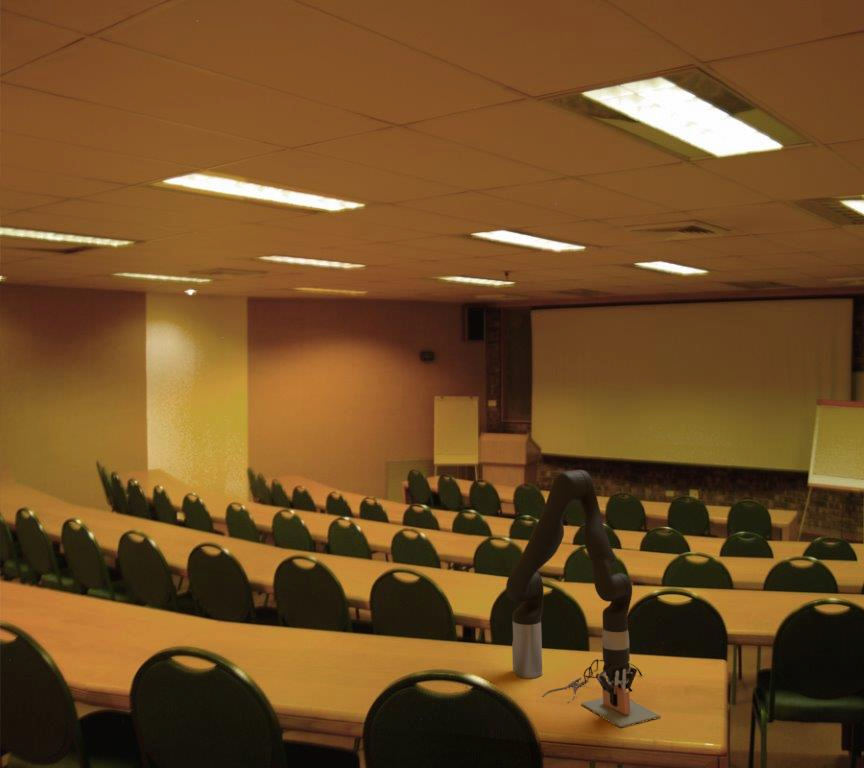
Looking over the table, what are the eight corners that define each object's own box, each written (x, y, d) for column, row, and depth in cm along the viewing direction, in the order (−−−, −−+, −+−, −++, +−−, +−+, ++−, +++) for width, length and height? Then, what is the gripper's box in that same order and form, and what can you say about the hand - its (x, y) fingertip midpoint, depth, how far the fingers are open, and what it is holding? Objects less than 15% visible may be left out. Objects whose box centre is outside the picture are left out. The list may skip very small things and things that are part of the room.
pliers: (540, 697, 242) (560, 674, 260) (540, 700, 242) (560, 677, 260) (571, 702, 238) (589, 679, 256) (571, 705, 238) (589, 681, 256)
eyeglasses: (596, 669, 266) (596, 657, 266) (644, 676, 259) (644, 664, 259) (581, 686, 252) (581, 673, 252) (631, 694, 245) (631, 681, 244)
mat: (581, 704, 237) (581, 702, 237) (619, 695, 243) (619, 693, 243) (620, 728, 221) (620, 726, 221) (660, 717, 227) (660, 715, 227)
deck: (603, 703, 236) (602, 683, 236) (608, 702, 237) (607, 681, 237) (625, 714, 227) (624, 693, 227) (630, 713, 228) (629, 691, 228)
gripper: (626, 637, 238) (628, 696, 238) (588, 644, 232) (589, 705, 232) (643, 644, 231) (645, 704, 231) (604, 652, 225) (606, 714, 225)
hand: (617, 704), depth 231 cm, fingers closed on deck
